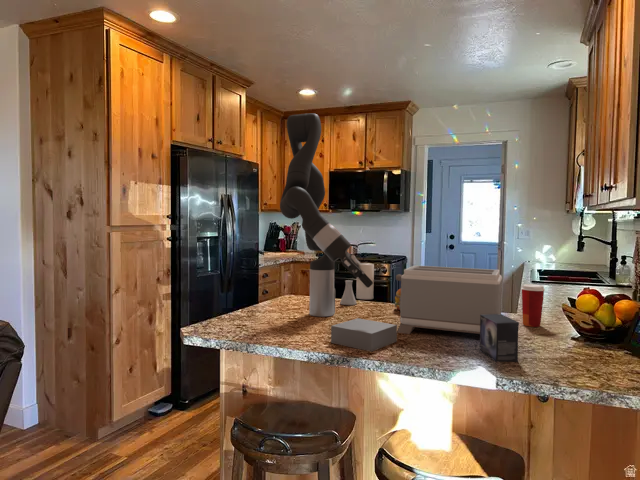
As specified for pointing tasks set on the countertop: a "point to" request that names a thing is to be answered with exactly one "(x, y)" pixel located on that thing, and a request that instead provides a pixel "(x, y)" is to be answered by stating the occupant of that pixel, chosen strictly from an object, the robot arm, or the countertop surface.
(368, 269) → the beige piece
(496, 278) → the toaster
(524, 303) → the paper cup
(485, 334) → the small box
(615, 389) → the countertop surface
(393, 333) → the plinth
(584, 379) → the countertop surface
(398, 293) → the burger
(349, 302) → the flask
